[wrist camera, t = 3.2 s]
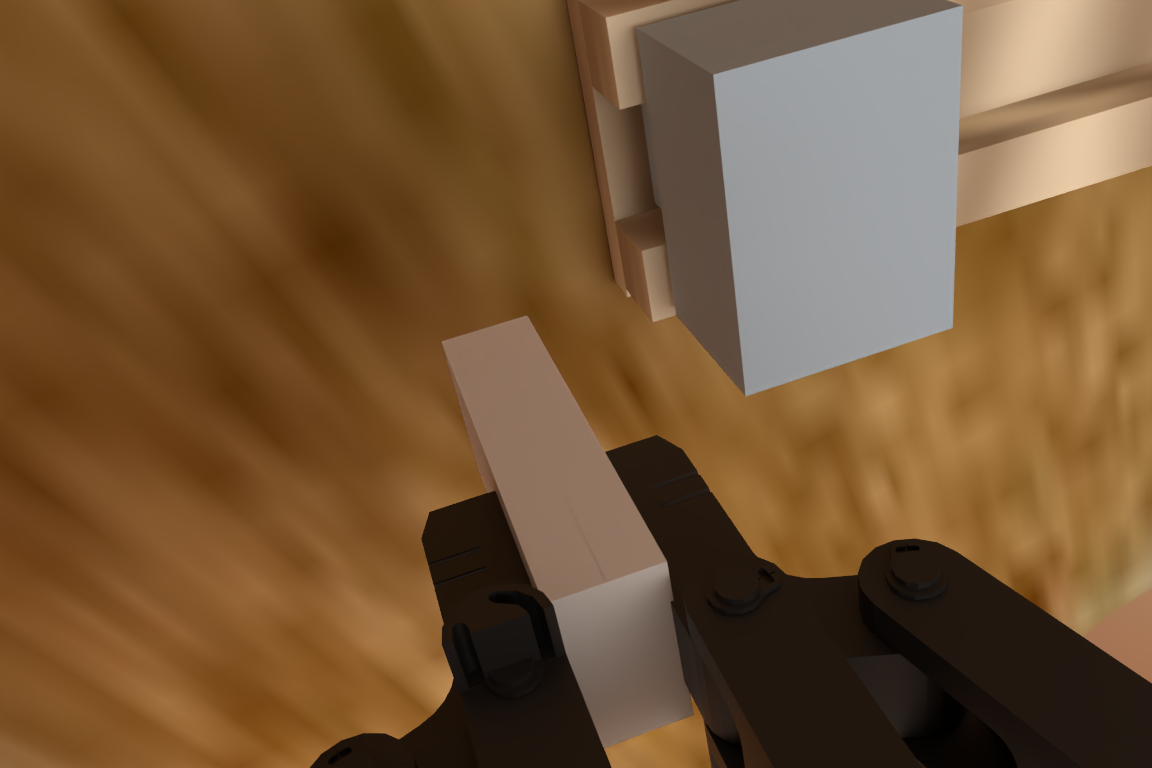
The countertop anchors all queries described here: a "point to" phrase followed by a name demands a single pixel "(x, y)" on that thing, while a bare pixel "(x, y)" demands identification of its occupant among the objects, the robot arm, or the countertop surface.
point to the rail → (986, 122)
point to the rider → (806, 177)
